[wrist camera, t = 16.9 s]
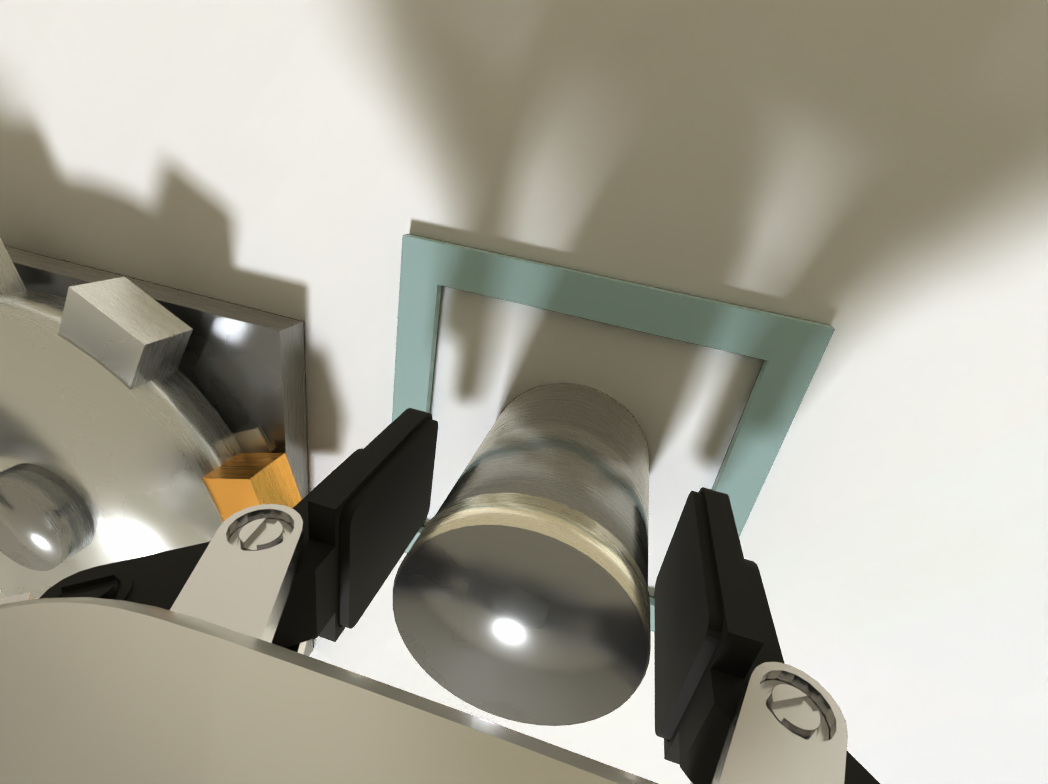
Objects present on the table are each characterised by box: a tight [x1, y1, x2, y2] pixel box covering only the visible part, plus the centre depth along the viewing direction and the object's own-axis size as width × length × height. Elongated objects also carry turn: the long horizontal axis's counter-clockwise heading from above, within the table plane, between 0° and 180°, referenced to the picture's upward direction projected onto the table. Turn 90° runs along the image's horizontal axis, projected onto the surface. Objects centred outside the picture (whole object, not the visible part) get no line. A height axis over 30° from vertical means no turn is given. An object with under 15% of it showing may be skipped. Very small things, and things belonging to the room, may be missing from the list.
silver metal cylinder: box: [393, 383, 650, 726], centre depth 11 cm, size 4×4×6 cm
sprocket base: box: [5, 246, 313, 656], centre depth 17 cm, size 14×14×1 cm
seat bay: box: [392, 234, 835, 632], centre depth 13 cm, size 10×10×1 cm
